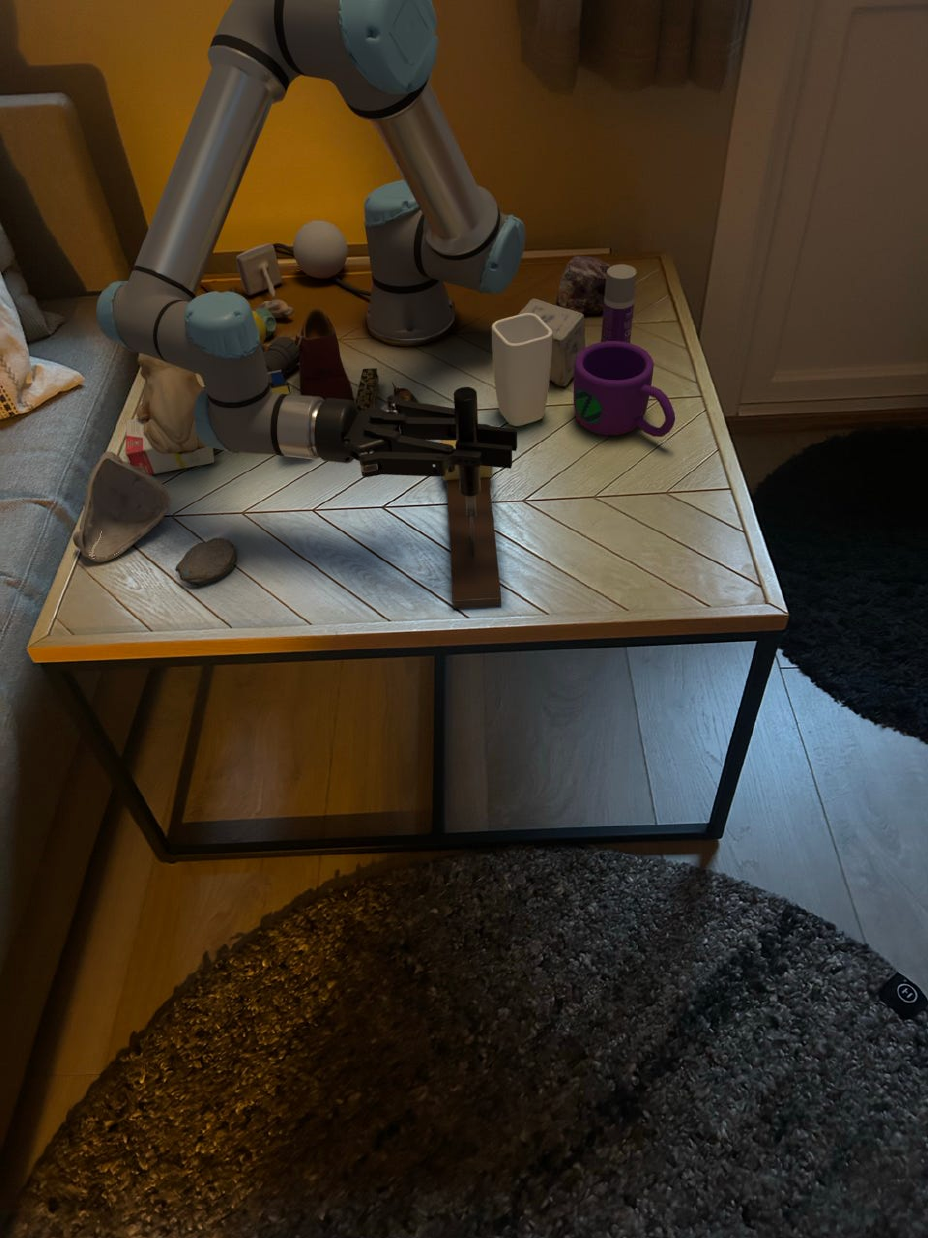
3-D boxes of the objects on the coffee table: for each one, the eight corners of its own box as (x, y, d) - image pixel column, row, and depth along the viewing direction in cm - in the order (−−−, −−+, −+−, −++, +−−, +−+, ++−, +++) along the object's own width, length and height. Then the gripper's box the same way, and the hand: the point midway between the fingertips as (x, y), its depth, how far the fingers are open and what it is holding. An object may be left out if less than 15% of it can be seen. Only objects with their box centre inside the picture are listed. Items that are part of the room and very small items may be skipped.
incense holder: (507, 375, 148) (507, 317, 140) (535, 351, 152) (535, 293, 144) (560, 394, 144) (562, 334, 136) (586, 368, 148) (590, 309, 140)
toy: (257, 364, 138) (273, 420, 128) (286, 358, 139) (305, 413, 129) (267, 410, 144) (284, 467, 134) (296, 404, 145) (314, 460, 135)
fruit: (274, 353, 155) (265, 309, 149) (244, 362, 153) (232, 319, 147) (263, 338, 158) (253, 295, 152) (233, 347, 156) (221, 304, 151)
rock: (621, 326, 158) (611, 295, 165) (633, 280, 152) (623, 250, 158) (555, 321, 157) (547, 290, 163) (565, 275, 150) (557, 245, 157)
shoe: (311, 446, 138) (301, 390, 130) (292, 357, 154) (283, 303, 146) (363, 437, 139) (356, 381, 132) (340, 350, 155) (332, 296, 147)
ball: (339, 257, 177) (331, 205, 169) (359, 279, 171) (351, 227, 163) (291, 270, 174) (280, 218, 167) (308, 293, 168) (299, 240, 161)
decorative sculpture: (295, 321, 161) (288, 282, 156) (241, 331, 160) (231, 292, 154) (281, 278, 172) (273, 240, 166) (230, 287, 170) (220, 250, 165)
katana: (232, 311, 165) (231, 308, 164) (224, 315, 164) (222, 312, 164) (204, 283, 172) (203, 280, 171) (196, 287, 172) (195, 284, 171)
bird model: (405, 389, 146) (404, 375, 144) (437, 436, 138) (436, 421, 136) (386, 394, 145) (385, 380, 143) (417, 441, 137) (416, 427, 135)
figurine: (218, 382, 141) (201, 323, 134) (226, 448, 130) (209, 387, 122) (137, 397, 139) (115, 338, 132) (138, 464, 128) (115, 404, 120)
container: (627, 367, 148) (636, 279, 137) (598, 364, 149) (604, 278, 137) (629, 351, 151) (638, 264, 140) (601, 349, 152) (607, 262, 140)
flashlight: (278, 358, 154) (272, 329, 150) (306, 364, 152) (301, 335, 148) (229, 409, 145) (221, 380, 141) (258, 416, 143) (251, 386, 139)
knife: (483, 552, 118) (477, 403, 101) (463, 554, 118) (454, 404, 101) (481, 531, 120) (475, 382, 103) (462, 533, 120) (452, 383, 103)
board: (501, 606, 114) (501, 598, 113) (453, 609, 114) (452, 601, 113) (486, 452, 135) (485, 444, 134) (445, 455, 135) (444, 447, 134)
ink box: (135, 479, 134) (216, 464, 135) (124, 452, 130) (207, 437, 132) (136, 445, 140) (214, 431, 141) (125, 418, 136) (205, 404, 137)
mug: (555, 418, 139) (558, 361, 132) (605, 387, 144) (611, 330, 137) (643, 470, 130) (651, 411, 123) (693, 435, 135) (704, 377, 128)
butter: (492, 477, 129) (492, 454, 126) (443, 480, 129) (441, 457, 126) (489, 448, 133) (489, 426, 130) (441, 451, 133) (439, 429, 130)
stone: (248, 568, 120) (244, 556, 119) (189, 595, 118) (184, 583, 116) (228, 539, 125) (224, 527, 123) (170, 564, 122) (165, 552, 120)
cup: (510, 435, 137) (509, 347, 126) (490, 409, 141) (487, 322, 130) (553, 421, 139) (556, 334, 128) (532, 396, 143) (533, 309, 132)
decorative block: (367, 445, 137) (364, 425, 134) (351, 444, 137) (348, 425, 134) (380, 385, 147) (377, 366, 144) (365, 385, 147) (362, 366, 145)
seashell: (93, 572, 121) (86, 556, 130) (185, 517, 125) (171, 505, 133) (36, 494, 116) (32, 482, 124) (134, 439, 119) (123, 431, 127)
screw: (255, 316, 153) (266, 344, 156) (274, 303, 156) (285, 330, 159) (220, 314, 158) (231, 341, 161) (239, 301, 161) (250, 328, 164)
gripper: (346, 416, 118) (525, 433, 114) (306, 495, 108) (502, 517, 104) (337, 366, 113) (525, 382, 108) (295, 443, 102) (501, 465, 98)
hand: (513, 448), depth 106 cm, fingers closed on knife, 3 cm apart
